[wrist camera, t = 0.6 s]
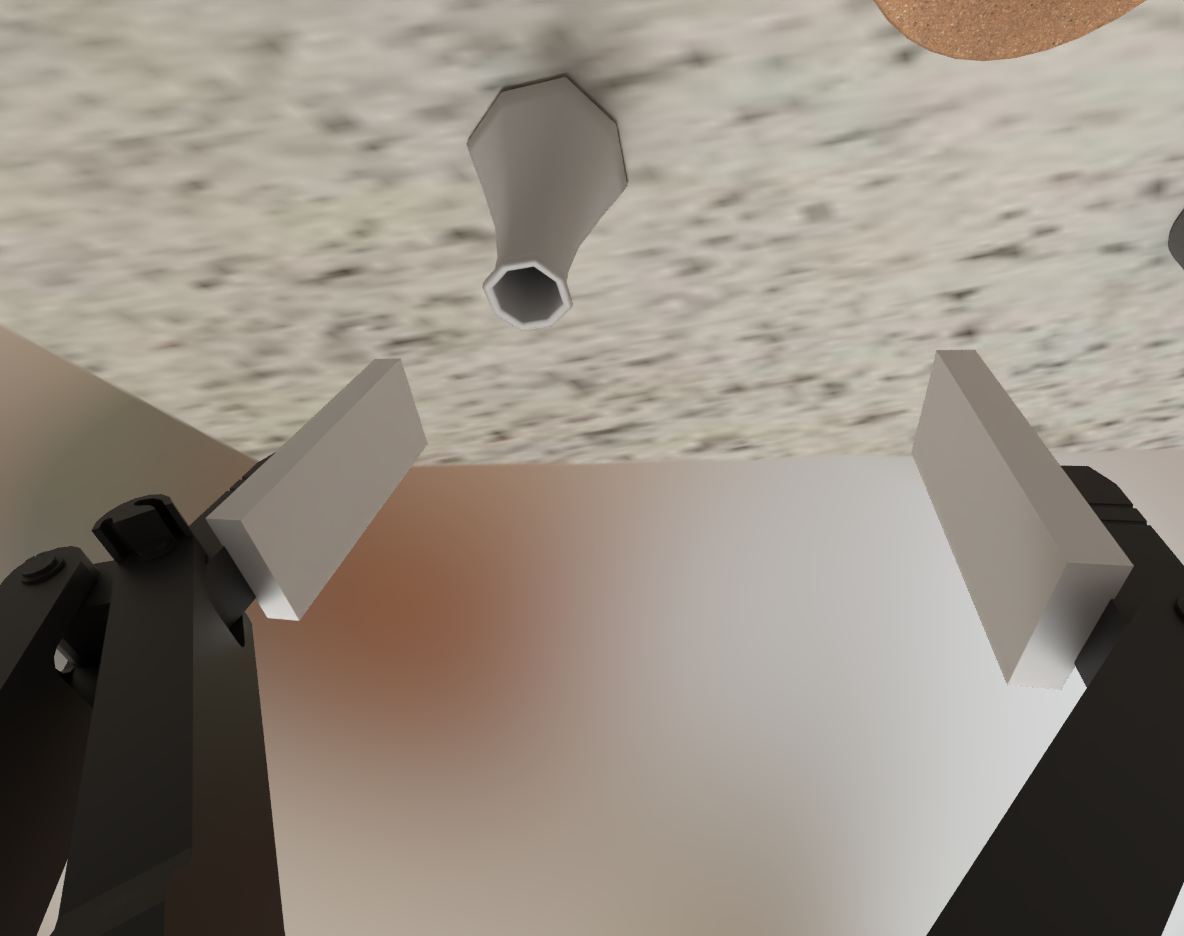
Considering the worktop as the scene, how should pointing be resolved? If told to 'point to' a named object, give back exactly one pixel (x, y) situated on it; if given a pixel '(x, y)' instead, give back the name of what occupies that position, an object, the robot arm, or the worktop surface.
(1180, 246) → the bottle
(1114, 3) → the lidded jar
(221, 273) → the worktop surface
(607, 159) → the flask
